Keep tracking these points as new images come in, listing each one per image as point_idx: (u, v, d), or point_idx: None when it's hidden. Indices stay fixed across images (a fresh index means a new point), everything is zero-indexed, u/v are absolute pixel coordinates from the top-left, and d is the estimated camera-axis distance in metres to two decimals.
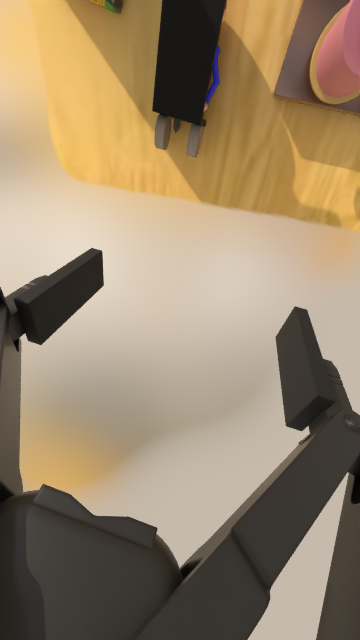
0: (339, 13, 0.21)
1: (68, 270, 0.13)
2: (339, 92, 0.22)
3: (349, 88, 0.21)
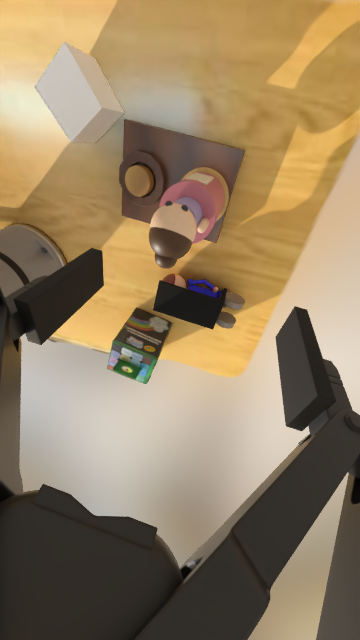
0: None
1: (68, 270, 0.13)
2: (221, 209, 0.28)
3: (219, 211, 0.26)
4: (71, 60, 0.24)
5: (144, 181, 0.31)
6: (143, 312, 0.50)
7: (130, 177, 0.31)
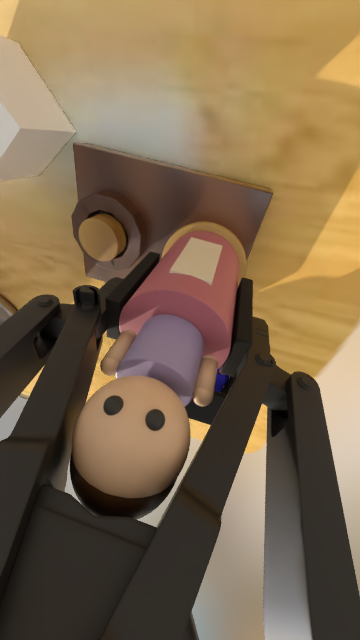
0: None
1: (139, 272, 0.14)
2: None
3: None
4: None
5: (109, 241, 0.19)
6: None
7: (87, 234, 0.19)
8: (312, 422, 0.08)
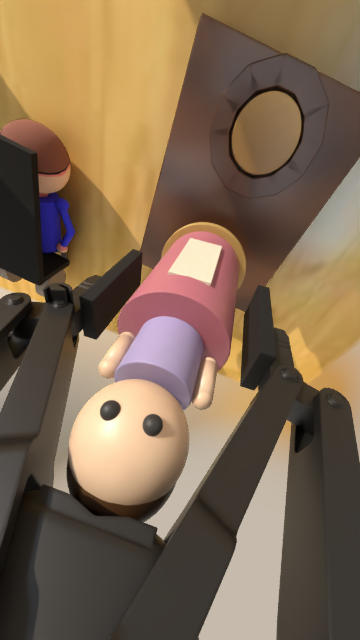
0: None
1: (118, 270, 0.14)
2: None
3: None
4: None
5: (259, 159, 0.13)
6: None
7: (280, 116, 0.12)
8: (341, 442, 0.08)
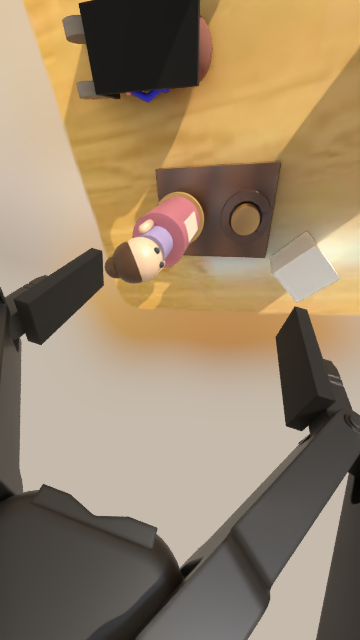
0: None
1: (68, 270, 0.13)
2: None
3: None
4: (293, 295, 0.33)
5: (236, 223, 0.30)
6: None
7: (252, 223, 0.29)
8: None
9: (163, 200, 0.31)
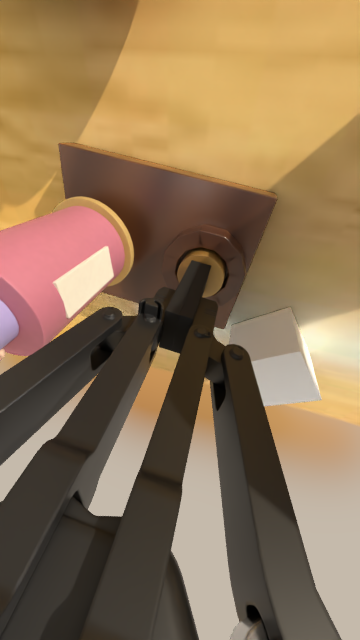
0: None
1: (188, 282, 0.14)
2: None
3: None
4: None
5: None
6: None
7: (211, 284, 0.18)
8: (246, 388, 0.09)
9: (62, 206, 0.17)
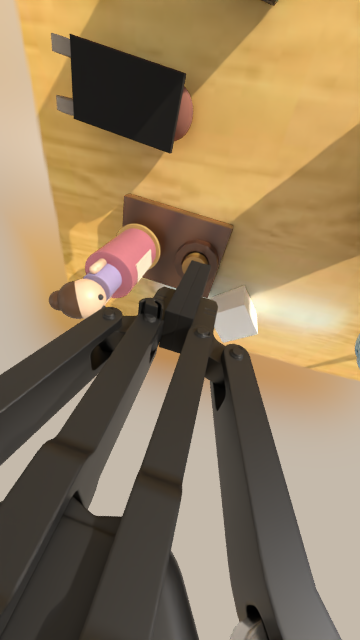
0: (119, 232, 0.33)
1: (188, 282, 0.14)
2: None
3: None
4: (221, 336, 0.38)
5: (186, 268, 0.34)
6: None
7: None
8: (246, 389, 0.09)
9: (125, 228, 0.33)
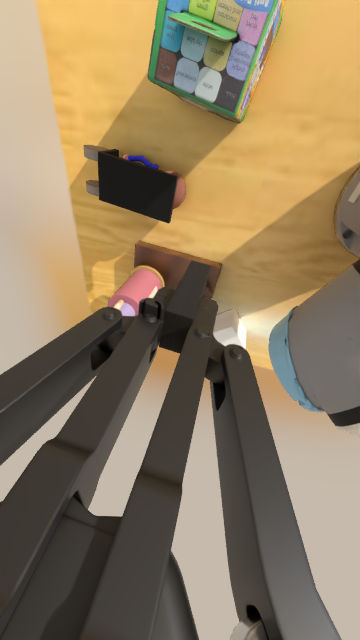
0: (131, 271, 0.42)
1: (188, 282, 0.14)
2: None
3: None
4: None
5: None
6: (225, 118, 0.29)
7: None
8: (246, 388, 0.09)
9: (136, 269, 0.42)
